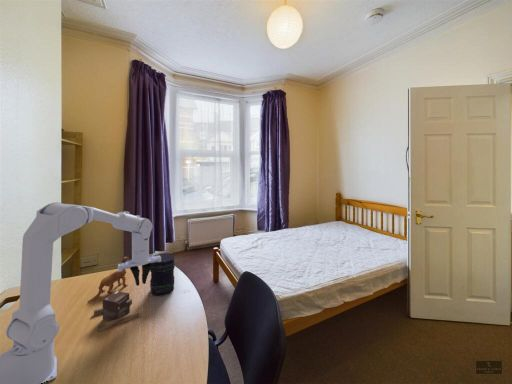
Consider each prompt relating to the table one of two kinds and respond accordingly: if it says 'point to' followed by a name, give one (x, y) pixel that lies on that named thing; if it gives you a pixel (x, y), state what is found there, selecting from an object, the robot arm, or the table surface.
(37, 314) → the robot arm
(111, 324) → the shelf lane
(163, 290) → the storage jar
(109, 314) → the box
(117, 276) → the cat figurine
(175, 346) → the table surface
